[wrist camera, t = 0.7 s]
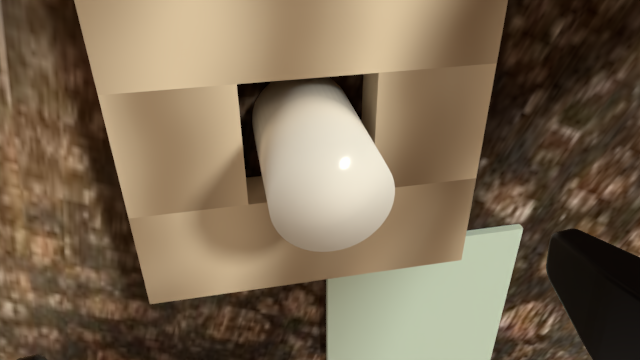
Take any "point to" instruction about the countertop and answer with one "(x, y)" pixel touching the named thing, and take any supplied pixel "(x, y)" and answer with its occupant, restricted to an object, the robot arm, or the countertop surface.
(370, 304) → the plate
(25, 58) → the countertop surface
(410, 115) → the pocket block
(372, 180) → the ceramic cylinder
